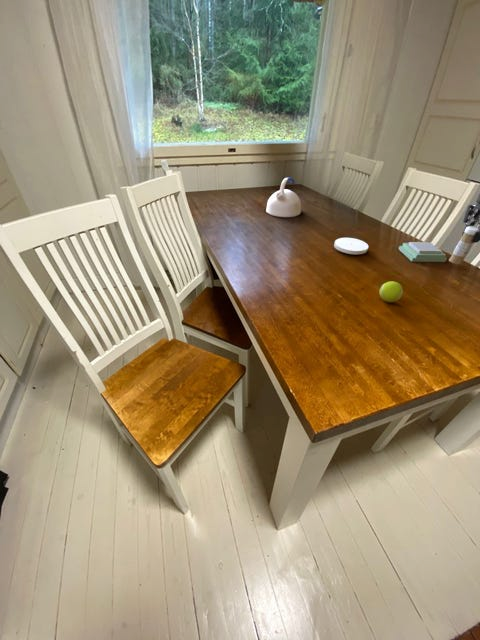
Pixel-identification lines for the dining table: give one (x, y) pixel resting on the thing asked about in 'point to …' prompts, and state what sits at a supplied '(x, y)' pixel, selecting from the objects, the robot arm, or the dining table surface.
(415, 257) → the scale
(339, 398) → the dining table surface
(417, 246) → the pan
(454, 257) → the sprinkles bottle
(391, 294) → the tennis ball
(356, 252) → the plastic lid
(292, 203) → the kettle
